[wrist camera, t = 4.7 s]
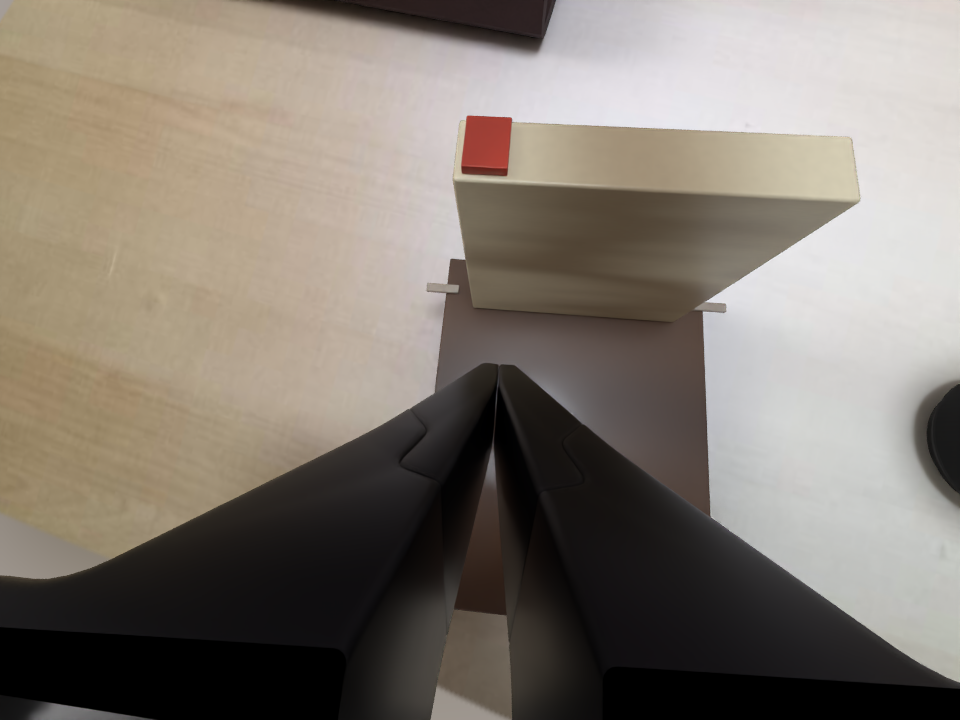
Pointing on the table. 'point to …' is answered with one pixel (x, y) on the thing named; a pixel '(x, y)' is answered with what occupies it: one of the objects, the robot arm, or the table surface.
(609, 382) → the brown flat piece
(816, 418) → the table surface
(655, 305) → the red-cornered cream slab
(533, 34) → the book
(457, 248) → the table surface
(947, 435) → the beverage can
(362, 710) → the robot arm
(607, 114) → the table surface
